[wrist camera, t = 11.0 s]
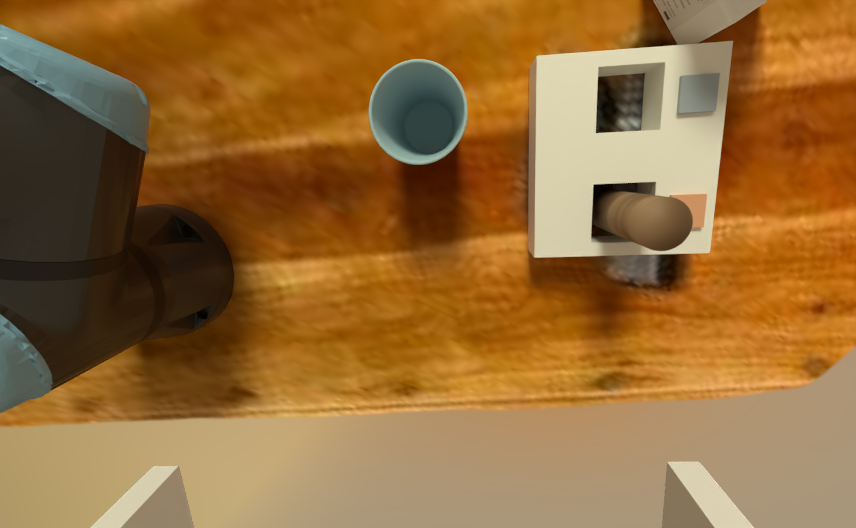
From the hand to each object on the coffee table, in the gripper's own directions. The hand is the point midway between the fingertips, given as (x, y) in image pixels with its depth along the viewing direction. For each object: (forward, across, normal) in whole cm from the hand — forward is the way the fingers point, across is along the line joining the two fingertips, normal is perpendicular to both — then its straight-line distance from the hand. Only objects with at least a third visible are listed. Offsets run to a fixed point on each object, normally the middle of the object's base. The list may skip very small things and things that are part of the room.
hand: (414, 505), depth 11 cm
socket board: (+33, +17, +9) cm, 38 cm away
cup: (+34, -1, +13) cm, 36 cm away
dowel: (+33, +17, +4) cm, 37 cm away
